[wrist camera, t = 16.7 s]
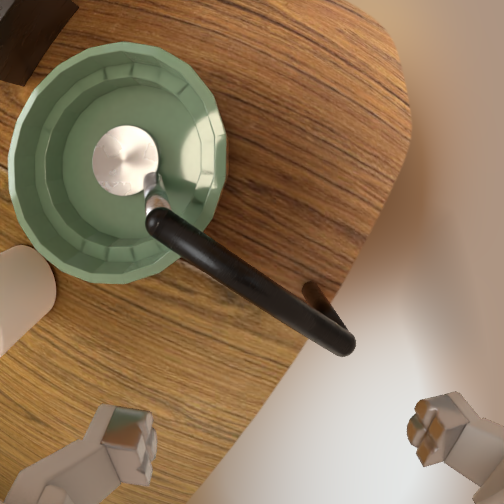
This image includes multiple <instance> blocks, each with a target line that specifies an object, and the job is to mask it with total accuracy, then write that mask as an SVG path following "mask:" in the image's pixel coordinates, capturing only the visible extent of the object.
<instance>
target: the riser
mask: <svg viewBox="0 0 504 504" xmlns="http://www.w3.org/2000/svg"><path fill="white" fill-rule="evenodd" d="M78 8H79V7H78V6H77V5H76V4H75V3H74V2H72V1H71V0H0V80H2V81H6V82H9V83H13V84H17V85H20V86H25V84H26V82H27V81H28V79H29V77H30V76H31V74H32V72H33V71H34V69H35V67H36V66H37V64H38V63H39V61H40V60H41V58H42V57H43V55H44V54H45V52H46V51H47V49H48V48H49V46H50V45H51V43H52V42H53V41H54V39H55V38H56V36H57V35H58V34H59V32H60V31H61V30H62V28H63V27H64V26H65V24H66V23H67V22H68V20H69V19H70V18H71V17H72V15H73V14H74V13H75V12H76V10H77V9H78Z"/></svg>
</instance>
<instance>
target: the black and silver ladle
mask: <svg viewBox="0 0 504 504" xmlns="http://www.w3.org/2000/svg"><path fill="white" fill-rule="evenodd" d="M160 166H161V152H160V148H159V145H158V143H157V141H156V139H155V138H154V137H153V136H152V135H151V134H150V133H149V132H148V131H146V130H144V129H142V128H140V127H137V126H132V125H122V126H118V127H115V128H113V129H111V130H109V131H108V132H106V133H105V134H104V135H103V136H102V137H101V138H100V140H99V141H98V143H97V145H96V147H95V149H94V152H93V157H92V168H93V173H94V175H95V178H96V180H97V182H98V183H99V184H100V186H101V187H102V188H103V189H105V190H106V191H107V192H109V193H111V194H113V195H117V196H131V195H134V194H137V193H139V192H141V191H143V190H144V201H145V213H146V219H145V228H146V230H147V232H148V234H149V235H150V236H152V237H153V238H154V239H156V240H157V241H159V242H160V243H162V244H163V245H165V246H166V247H168V248H169V249H170V250H172V251H173V252H175V253H176V254H178V255H179V256H181V257H182V258H184V259H185V260H187V261H188V262H190V263H191V264H193V265H194V266H196V267H197V268H199V269H200V270H202V271H203V272H205V273H206V274H208V275H209V276H211V277H212V278H214V279H215V280H217V281H218V282H220V283H221V284H223V285H224V286H226V287H228V288H229V289H231V290H232V291H234V292H235V293H237V294H238V295H240V296H241V297H243V298H245V299H246V300H248V301H249V302H251V303H252V304H254V305H255V306H257V307H259V308H260V309H262V310H263V311H265V312H267V313H268V314H270V315H271V316H273V317H274V318H276V319H278V320H279V321H281V322H282V323H284V324H286V325H287V326H289V327H291V328H292V329H294V330H295V331H297V332H299V333H300V334H302V335H304V336H305V337H307V338H308V339H310V340H312V341H314V342H315V343H317V344H318V345H320V346H322V347H323V348H325V349H327V350H328V351H330V352H332V353H333V354H335V355H337V356H340V357H345V356H348V355H350V354H351V353H352V352H353V351H354V349H355V347H356V340H355V337H354V336H353V335H352V334H351V333H350V332H349V331H348V329H347V328H346V326H345V325H344V323H343V322H342V320H341V319H340V317H339V316H338V314H337V313H336V311H335V310H334V309H333V307H332V306H331V304H330V303H329V301H328V300H327V298H326V297H325V295H324V294H323V292H322V291H321V289H320V288H319V287H318V285H317V284H316V283H315V282H311V281H310V282H307V283H305V284H304V285H303V287H302V294H303V296H304V297H305V299H306V301H307V303H308V304H307V303H305V302H304V301H303V300H301V299H300V298H298V297H297V296H295V295H294V294H292V293H291V292H289V291H288V290H286V289H285V288H283V287H282V286H280V285H279V284H277V283H276V282H275V281H273V280H272V279H270V278H269V277H267V276H266V275H264V274H263V273H261V272H260V271H258V270H257V269H255V268H254V267H253V266H251V265H250V264H248V263H247V262H245V261H244V260H242V259H241V258H239V257H238V256H237V255H235V254H234V253H232V252H231V251H229V250H228V249H226V248H225V247H223V246H222V245H221V244H219V243H218V242H216V241H215V240H213V239H212V238H210V237H209V236H207V235H206V234H205V233H203V232H202V231H200V230H199V229H197V228H196V227H194V226H193V225H192V224H190V223H189V222H187V221H186V220H184V219H183V218H182V217H180V216H179V215H177V214H176V213H174V212H173V211H172V209H171V206H170V203H169V199H168V196H167V193H166V190H165V186H164V183H163V180H162V177H161V175H160V174H159V173H158V172H159V170H160Z"/></svg>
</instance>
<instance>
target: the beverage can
mask: <svg viewBox="0 0 504 504" xmlns="http://www.w3.org/2000/svg"><path fill="white" fill-rule="evenodd" d="M55 298H56V283H55V279H54V275H53V273H52V270H51V268H50V266H49V264H48V263H47V261H46V260H45V259H44V257H43V256H42V255H41V254H40V253H39V252H37V251H36V250H35V249H33V248H31V247H29V246H25V245H17V246H14V247H12V248H10V249H8V250H6V251H4V252H1V253H0V358H1V357H2V356H3V355H4V354H5V353H6V352H7V351H8V350H9V349H10V348H11V347H12V346H13V345H14V344H15V343H16V342H17V341H18V340H19V339H20V338H21V337H22V336H23V335H24V334H25V333H26V332H27V331H28V330H29V329H30V328H31V327H33V326H34V325H35V324H36V323H37V322H38V321H39V320H40V319H41V318H42V317H43V316H44V315H46V314H47V313H48V312H49V311H50V310H51V308H52V307H53V305H54V302H55Z"/></svg>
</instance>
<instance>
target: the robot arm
mask: <svg viewBox="0 0 504 504" xmlns="http://www.w3.org/2000/svg"><path fill="white" fill-rule="evenodd" d="M415 412H416V414H415V415H414V416H413V417H412V418H411V419H410V420H409V423H408V425H407V436H408V440H409V441H410V443H411V445H413V446H415V447H417V452H416V454H417V456H418V458H419V459H420V462H421V463H422V465H423V467H426V466H429V465H433V464H436V463H439V462H443V461H444V463H446V464H447V465H448V466H450V467H451V468H453V469H454V470H456V471H457V472H459V473H461V474H462V475H463V476H465V477H466V478H468V479H469V480H471V481H472V482H474V483H475V484H477V485H478V486H480V489H479V490H478V491H477V492H476V493H475V494H474V496H473V498H472V499H473V501H474V503H475V504H504V426H502V425H500V424H498V423H495V422H492V421H491V420H488V419H486V418H482V419H481V418H480V417H479V416H478V414H477V413H476V412H475V411H474V410H473V408H472V407H471V406H470V405H469V404H468V402H467V401H466V400H465V399H464V398H463V396H462V395H461V394H460V393H458V392H456V391H455V392H451V393H448V394H444V395H440V396H436V397H431V398H427V399H422V400H420V401H419V402H418V403H417V404H416V406H415ZM152 424H153V416H152V412H150V411H146V410H139V409H133V408H127V407H121V406H114V405H108V404H103V403H102V404H101V405H100V406H99V407H98V409H97V411H96V413H95V415H94V417H93V419H92V421H91V423H90V425H89V427H88V429H87V432H86V434H85V436H84V438H83V440H79V439H78V440H76V441H74V442H72V443H71V444H69V445H67V446H65V447H64V448H62V449H60V450H58V451H56V452H55V453H53V454H51V455H49V456H47V457H46V458H44V459H42V460H40V461H38V462H36V463H34V464H33V465H31V466H29V467H27V468H25V469H23V470H21V471H20V472H19V474H18V476H17V478H16V479H15V481H14V483H13V485H12V487H11V489H10V491H9V493H8V495H7V496H6V498H5V500H4V502H2V501H0V504H99V503H100V502H101V501H102V500H103V499H105V498H106V497H107V496H108V495H109V494H110V493H111V492H113V491H114V490H115V489H116V488H117V487H118V486H119V485H120V484H121V482H123V483H129V484H135V485H142V486H149V484H150V480H151V475H152V471H153V469H152V465H151V461H153V460H154V459H155V458H156V453H157V434H156V430H155V429H154V428H153V427H152Z"/></svg>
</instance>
